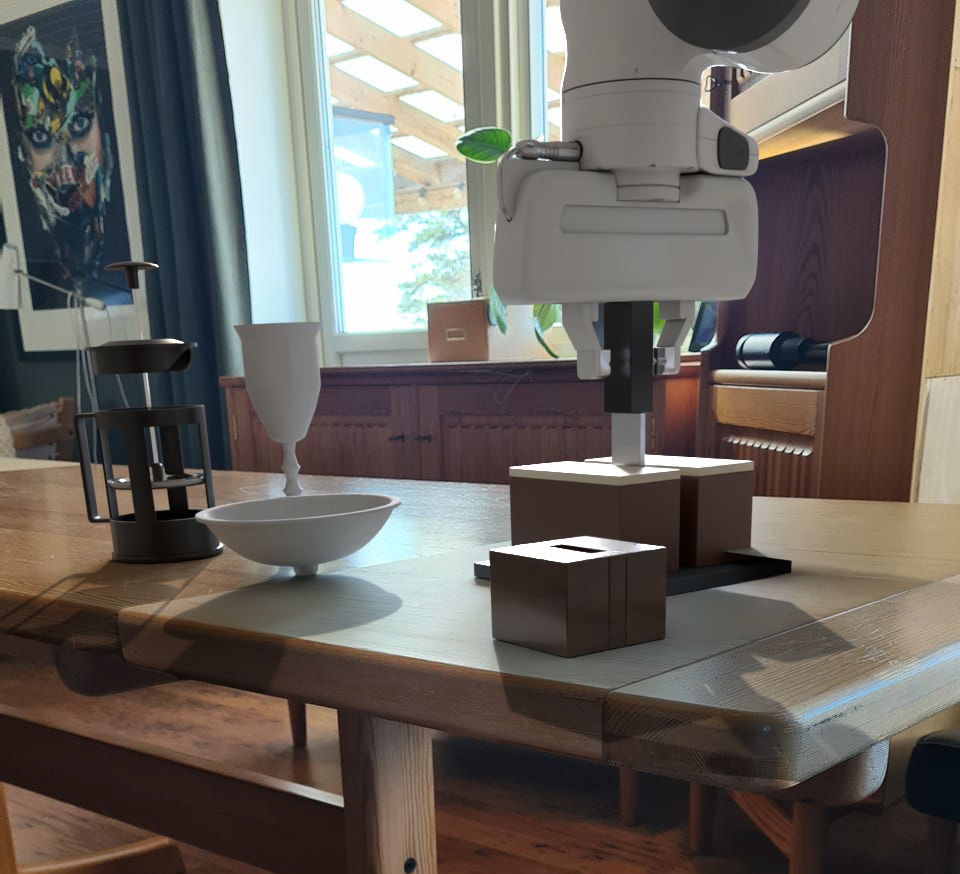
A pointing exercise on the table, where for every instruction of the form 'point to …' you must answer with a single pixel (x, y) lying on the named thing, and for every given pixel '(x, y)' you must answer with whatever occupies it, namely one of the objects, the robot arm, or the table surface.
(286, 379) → the chalice
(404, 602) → the table surface
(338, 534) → the dish
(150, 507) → the french press
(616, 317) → the knife
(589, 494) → the brown box set
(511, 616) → the knife block
